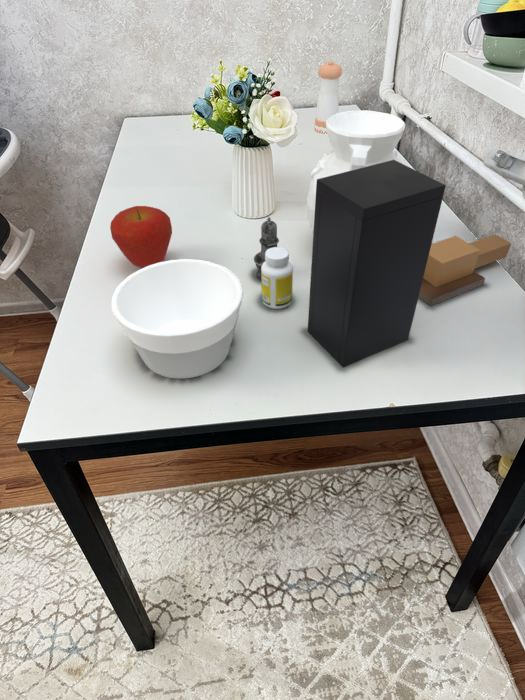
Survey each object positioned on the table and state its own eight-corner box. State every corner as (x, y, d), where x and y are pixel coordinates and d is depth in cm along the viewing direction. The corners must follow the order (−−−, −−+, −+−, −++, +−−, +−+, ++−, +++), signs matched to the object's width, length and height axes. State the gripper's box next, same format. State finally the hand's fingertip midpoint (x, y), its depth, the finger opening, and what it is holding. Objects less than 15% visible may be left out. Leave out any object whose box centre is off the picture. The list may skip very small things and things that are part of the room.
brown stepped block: (510, 259, 94) (519, 236, 91) (436, 287, 88) (442, 263, 84) (486, 245, 98) (494, 222, 95) (413, 271, 92) (418, 247, 88)
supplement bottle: (295, 295, 89) (297, 247, 82) (286, 312, 85) (288, 264, 79) (267, 289, 90) (266, 242, 84) (257, 306, 87) (256, 258, 80)
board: (483, 284, 91) (485, 278, 90) (430, 306, 86) (432, 299, 85) (443, 260, 97) (445, 253, 96) (392, 278, 93) (394, 271, 92)
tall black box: (408, 340, 79) (446, 185, 62) (342, 368, 75) (364, 209, 57) (369, 307, 86) (393, 159, 68) (307, 331, 81) (316, 179, 64)
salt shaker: (327, 124, 158) (332, 57, 146) (342, 131, 154) (348, 61, 141) (309, 129, 156) (313, 60, 143) (324, 135, 151) (328, 65, 138)
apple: (118, 283, 93) (104, 225, 85) (122, 253, 101) (109, 198, 93) (177, 277, 94) (168, 219, 86) (176, 249, 102) (168, 193, 94)
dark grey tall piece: (290, 271, 95) (291, 214, 87) (274, 286, 91) (274, 228, 83) (264, 263, 97) (263, 206, 89) (248, 277, 94) (245, 219, 85)
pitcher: (393, 278, 92) (420, 143, 76) (297, 268, 96) (302, 135, 79) (396, 231, 106) (419, 107, 89) (311, 223, 109) (318, 102, 92)
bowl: (246, 310, 86) (243, 256, 79) (245, 389, 72) (242, 333, 64) (136, 312, 86) (124, 259, 79) (114, 393, 72) (96, 337, 64)
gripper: (515, 152, 97) (482, 127, 88) (613, 190, 84) (586, 165, 75) (495, 182, 100) (461, 161, 91) (588, 224, 86) (558, 203, 78)
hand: (518, 163), depth 83 cm, fingers open, 8 cm apart
